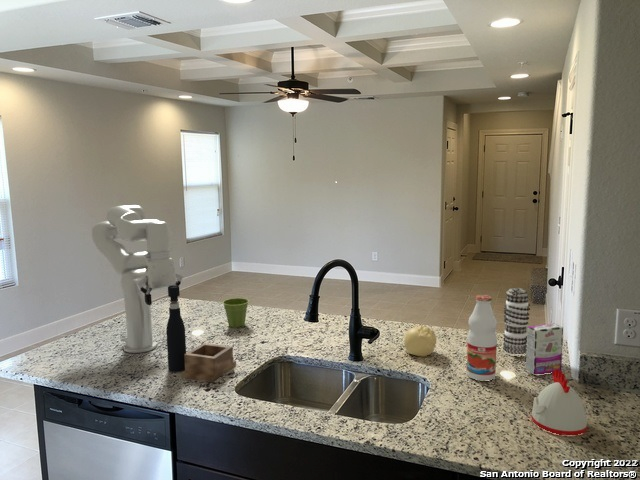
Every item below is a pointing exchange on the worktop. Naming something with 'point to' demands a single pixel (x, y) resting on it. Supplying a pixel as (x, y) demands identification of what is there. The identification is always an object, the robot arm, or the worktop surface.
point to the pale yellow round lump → (420, 341)
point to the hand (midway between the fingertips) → (161, 301)
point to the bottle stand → (208, 362)
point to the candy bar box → (544, 348)
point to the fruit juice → (482, 341)
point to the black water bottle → (175, 333)
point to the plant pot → (236, 311)
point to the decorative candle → (516, 321)
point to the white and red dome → (559, 408)
